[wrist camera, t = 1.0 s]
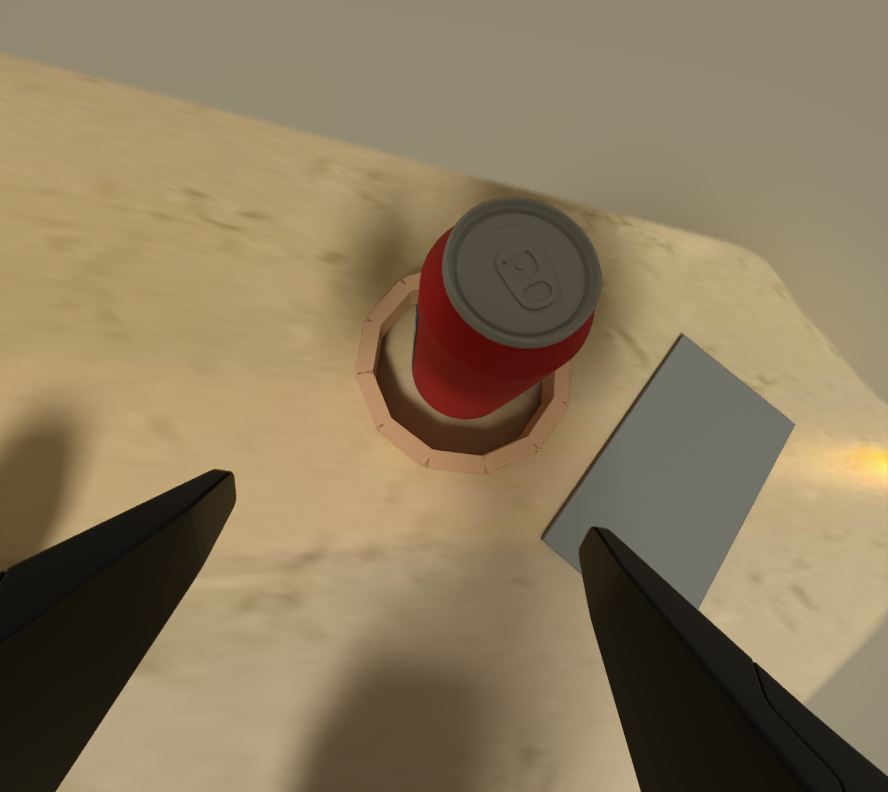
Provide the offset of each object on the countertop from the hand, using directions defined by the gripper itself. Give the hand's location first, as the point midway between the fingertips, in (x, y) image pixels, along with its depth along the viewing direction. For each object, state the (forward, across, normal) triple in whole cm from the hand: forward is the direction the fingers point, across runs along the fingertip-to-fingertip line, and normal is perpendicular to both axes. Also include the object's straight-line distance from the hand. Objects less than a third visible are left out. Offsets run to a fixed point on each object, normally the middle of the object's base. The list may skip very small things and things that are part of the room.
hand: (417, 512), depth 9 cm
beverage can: (+15, -2, +2) cm, 15 cm away
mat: (+12, -18, +6) cm, 22 cm away
